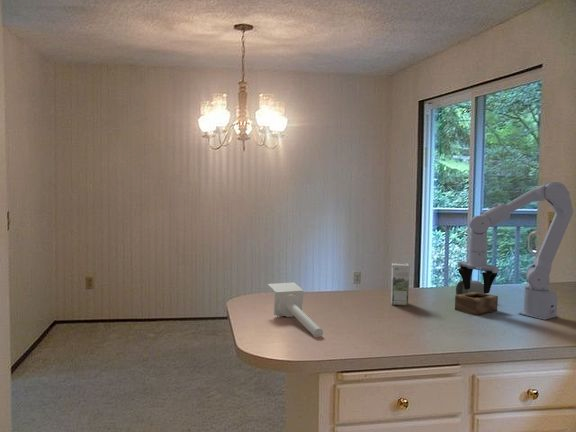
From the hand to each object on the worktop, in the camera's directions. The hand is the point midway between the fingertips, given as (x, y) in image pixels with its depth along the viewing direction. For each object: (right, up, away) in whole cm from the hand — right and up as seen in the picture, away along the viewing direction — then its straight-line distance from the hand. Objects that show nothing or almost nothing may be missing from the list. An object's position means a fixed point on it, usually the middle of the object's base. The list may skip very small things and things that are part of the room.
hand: (476, 291), depth 187 cm
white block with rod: (-61, -8, -18) cm, 64 cm away
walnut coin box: (0, -7, 0) cm, 7 cm away
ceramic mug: (+2, -6, +17) cm, 18 cm away
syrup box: (-25, -6, +9) cm, 27 cm away
